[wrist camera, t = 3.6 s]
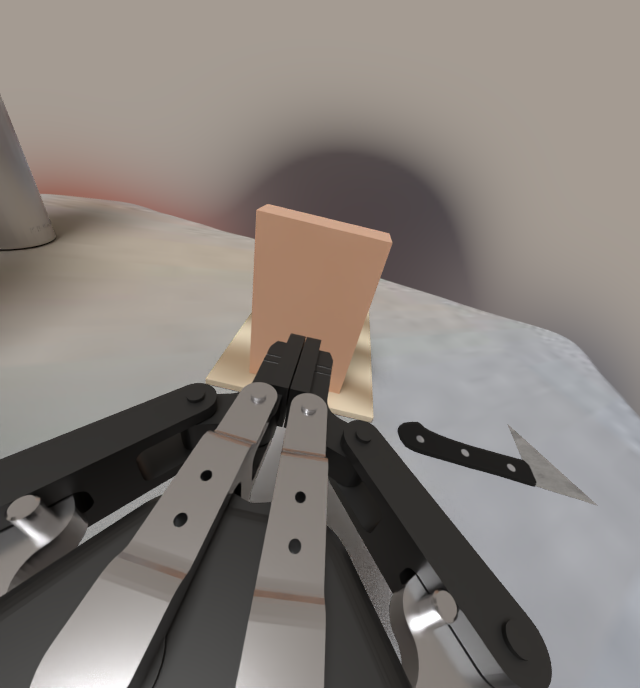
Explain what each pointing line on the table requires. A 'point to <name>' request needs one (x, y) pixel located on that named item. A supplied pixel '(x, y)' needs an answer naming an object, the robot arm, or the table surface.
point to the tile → (313, 283)
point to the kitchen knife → (492, 459)
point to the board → (347, 403)
